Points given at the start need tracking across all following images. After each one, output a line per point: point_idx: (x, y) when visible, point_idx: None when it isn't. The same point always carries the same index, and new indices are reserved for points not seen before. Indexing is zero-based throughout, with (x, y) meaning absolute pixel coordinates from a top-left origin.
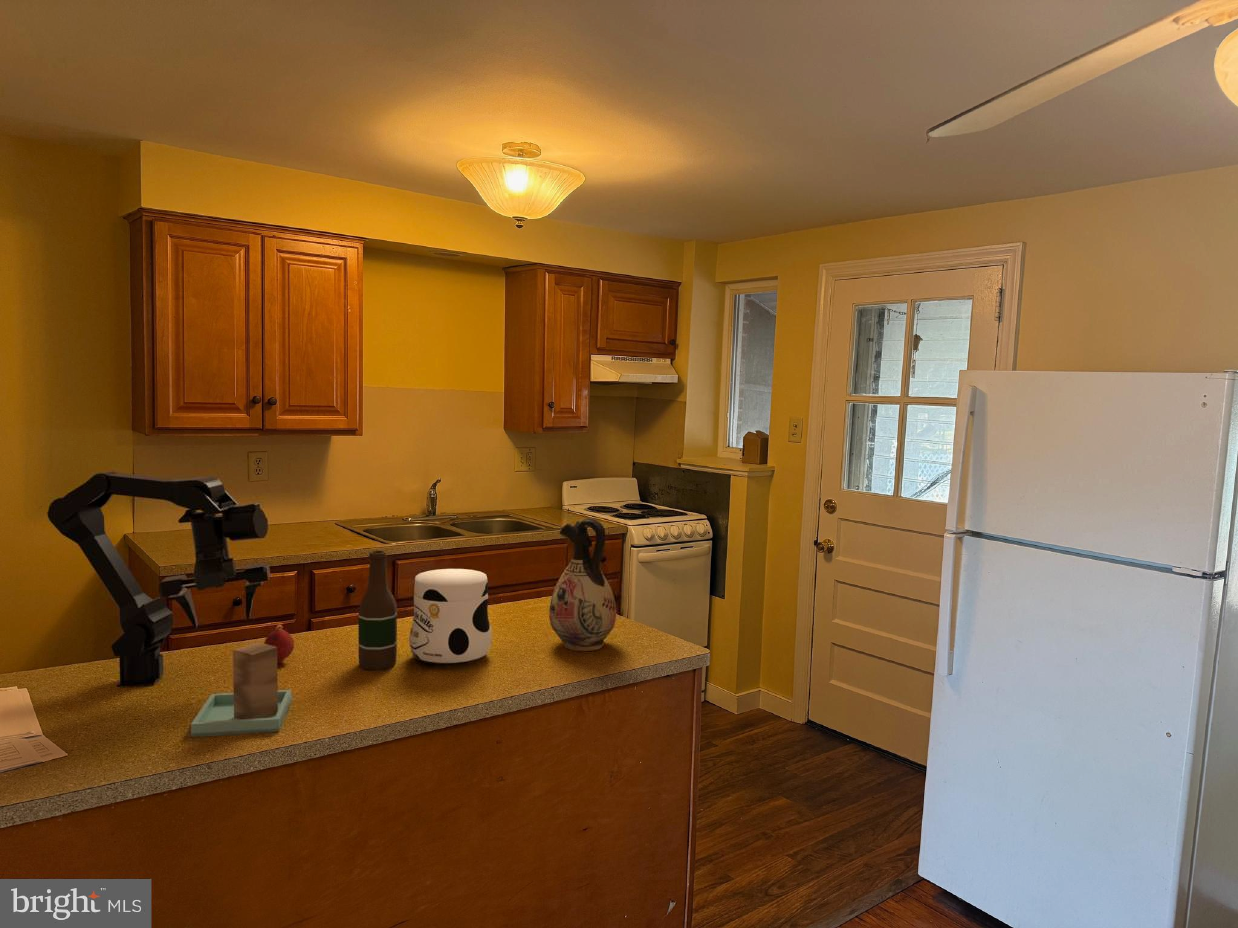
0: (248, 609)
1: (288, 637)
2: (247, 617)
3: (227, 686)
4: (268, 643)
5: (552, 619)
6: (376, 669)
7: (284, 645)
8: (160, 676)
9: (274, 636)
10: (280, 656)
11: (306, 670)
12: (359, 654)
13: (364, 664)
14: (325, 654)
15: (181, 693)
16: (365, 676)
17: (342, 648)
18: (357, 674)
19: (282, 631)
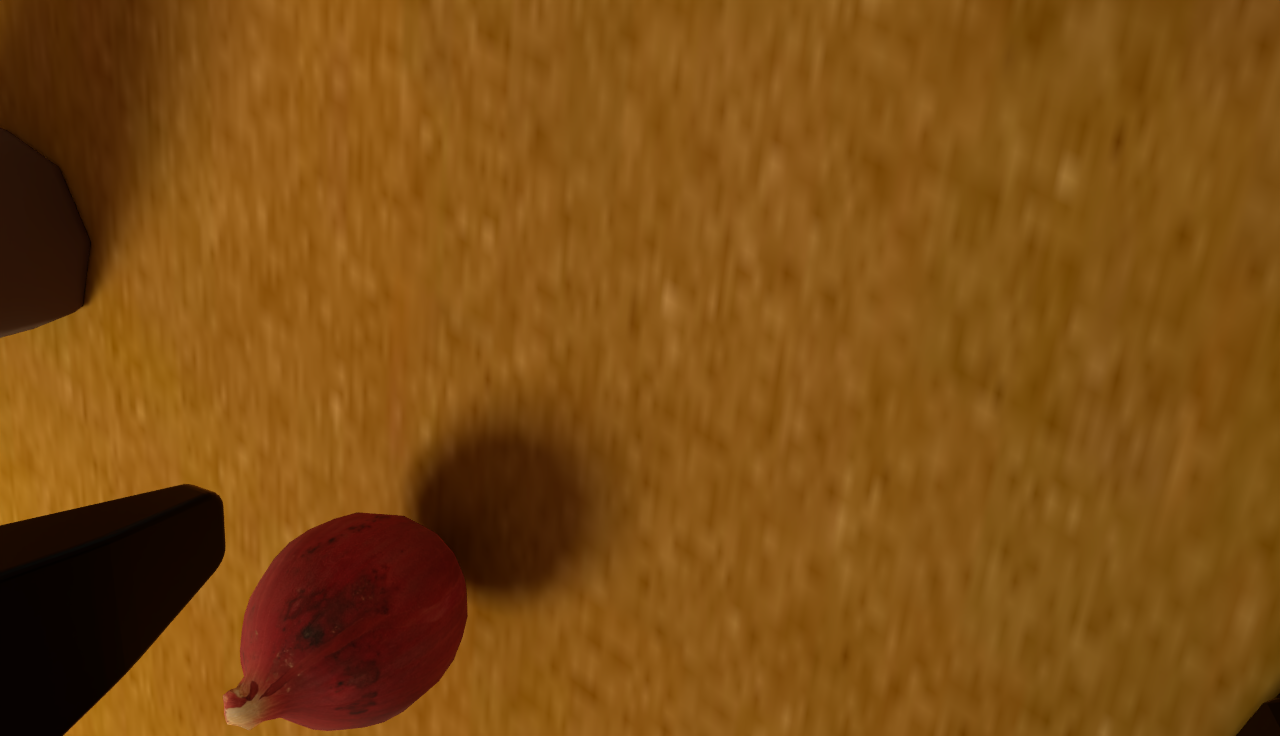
0: (6, 536)
1: (255, 594)
2: (182, 493)
3: (772, 284)
4: (390, 611)
5: None
6: (18, 139)
7: (312, 540)
8: (1253, 720)
9: (317, 630)
10: (390, 515)
11: (315, 336)
12: (7, 244)
13: (38, 187)
14: (235, 540)
15: (1149, 301)
16: (59, 61)
17: None
18: (94, 119)
19: (251, 654)
